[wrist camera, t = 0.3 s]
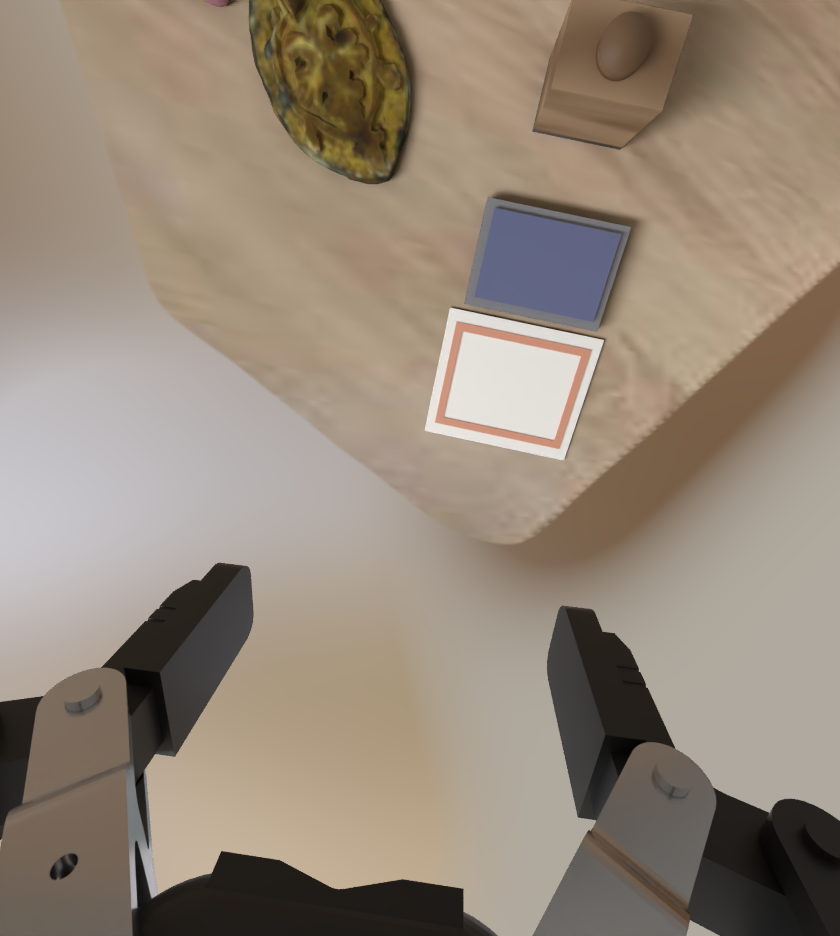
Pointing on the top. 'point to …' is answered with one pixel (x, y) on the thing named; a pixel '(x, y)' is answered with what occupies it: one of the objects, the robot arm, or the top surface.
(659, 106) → the stamp
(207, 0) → the video game controller
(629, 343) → the top surface
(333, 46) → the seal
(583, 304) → the ink pad
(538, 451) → the paper sheet
